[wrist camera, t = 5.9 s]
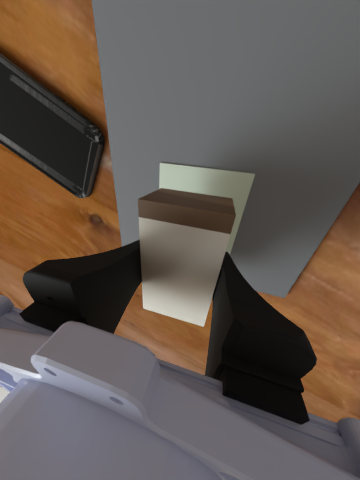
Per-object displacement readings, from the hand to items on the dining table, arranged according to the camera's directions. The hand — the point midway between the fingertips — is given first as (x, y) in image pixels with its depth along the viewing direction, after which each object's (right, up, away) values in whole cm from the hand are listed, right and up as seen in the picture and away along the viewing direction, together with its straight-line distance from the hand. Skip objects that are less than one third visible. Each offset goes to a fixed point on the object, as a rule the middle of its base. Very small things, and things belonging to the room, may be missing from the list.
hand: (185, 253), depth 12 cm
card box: (0, 0, +1) cm, 1 cm away
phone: (-15, +13, +4) cm, 20 cm away
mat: (+3, +7, +1) cm, 8 cm away
